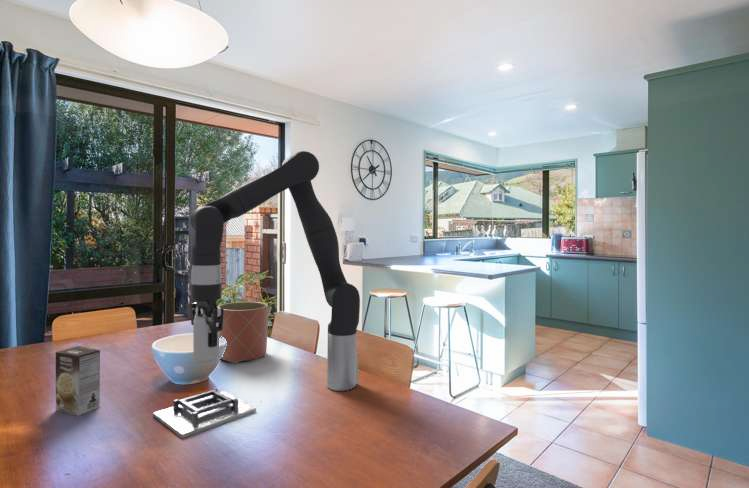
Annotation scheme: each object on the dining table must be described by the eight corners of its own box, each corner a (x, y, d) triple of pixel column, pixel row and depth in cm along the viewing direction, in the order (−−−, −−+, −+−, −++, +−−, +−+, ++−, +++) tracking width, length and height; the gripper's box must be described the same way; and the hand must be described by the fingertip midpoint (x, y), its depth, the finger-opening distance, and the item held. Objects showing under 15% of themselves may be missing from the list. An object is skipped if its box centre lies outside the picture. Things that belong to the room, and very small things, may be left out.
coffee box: (54, 411, 111) (53, 351, 110) (78, 401, 117) (77, 345, 116) (78, 416, 108) (77, 355, 107) (101, 406, 114) (101, 349, 113)
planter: (252, 346, 174) (252, 299, 174) (277, 356, 161) (277, 306, 161) (208, 356, 161) (208, 305, 160) (231, 367, 147) (231, 312, 147)
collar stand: (224, 394, 123) (224, 381, 123) (256, 411, 112) (256, 397, 112) (153, 416, 108) (153, 402, 108) (182, 438, 97) (182, 422, 97)
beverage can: (210, 364, 106) (210, 318, 106) (188, 362, 107) (188, 316, 107) (224, 356, 112) (224, 313, 112) (202, 355, 114) (202, 312, 113)
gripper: (233, 283, 107) (233, 346, 108) (207, 278, 117) (206, 336, 117) (205, 285, 102) (205, 352, 102) (180, 280, 111) (180, 341, 112)
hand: (206, 344), depth 110 cm, fingers closed on beverage can, 6 cm apart
